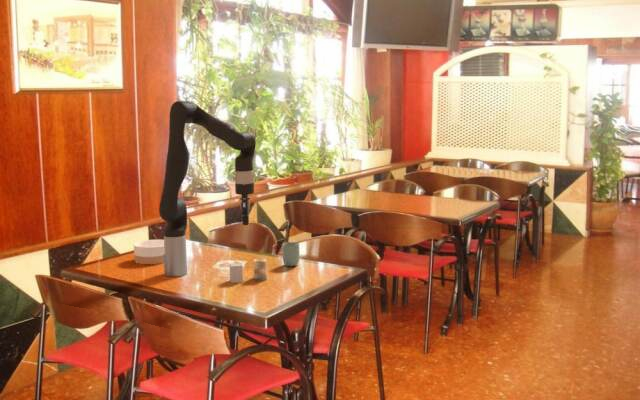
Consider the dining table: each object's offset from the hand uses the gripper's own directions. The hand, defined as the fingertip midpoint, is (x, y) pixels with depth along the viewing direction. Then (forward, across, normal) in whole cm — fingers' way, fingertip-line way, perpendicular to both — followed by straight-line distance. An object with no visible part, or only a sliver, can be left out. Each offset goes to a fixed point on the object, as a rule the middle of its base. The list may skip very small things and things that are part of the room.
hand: (245, 224), depth 284 cm
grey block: (+25, -5, -5) cm, 26 cm away
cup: (+25, -29, +18) cm, 42 cm away
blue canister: (+25, -8, +5) cm, 27 cm away
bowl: (+25, -46, -47) cm, 71 cm away
